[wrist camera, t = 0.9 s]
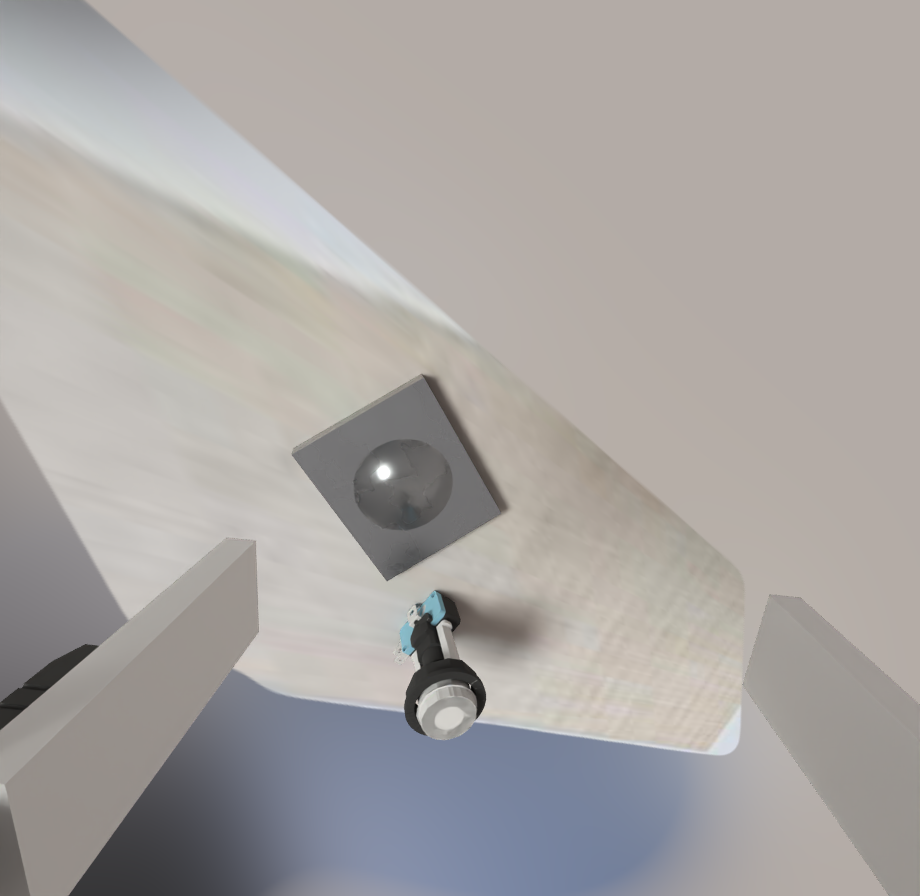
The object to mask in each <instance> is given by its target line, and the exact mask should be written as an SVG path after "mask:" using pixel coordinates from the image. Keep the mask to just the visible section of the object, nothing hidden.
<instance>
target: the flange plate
mask: <svg viewBox="0 0 920 896" xmlns="http://www.w3.org/2000/svg"><path fill="white" fill-rule="evenodd" d="M292 456H293V457H294V458H295V460H296V461H297V462H298V464H299V465H300V466H301V468H302V469H303V470H304V472H305V473H306V474H307V476H308V477H309V478H310V480H311V481H312V482H313V484H314V485H315V486H316V488H317V489H318V490H319V492H320V493H321V494H322V496H323V497H324V498H325V500H326V501H327V502H328V504H329V505H330V506H331V508H332V509H333V510H334V512H335V513H336V514H337V516H338V517H339V518H340V520H341V521H342V522H343V524H344V525H345V526H346V528H347V529H348V530H349V532H350V533H351V534H352V536H353V537H354V538H355V539H356V541H357V542H358V543H359V545H360V546H361V547H362V549H363V550H364V551H365V553H366V554H367V555H368V557H369V558H370V559H371V561H372V562H373V563H374V565H375V566H376V567H377V569H378V570H379V571H380V573H381V574H382V575H383V577H384V578H385V579H386V581H388V580H390V579H391V578H393V577H395V576H397V575H398V574H400V573H402V572H403V571H405V570H407V569H408V568H410V567H412V566H413V565H415V564H417V563H418V562H420V561H422V560H423V559H425V558H427V557H428V556H430V555H432V554H434V553H435V552H437V551H439V550H440V549H442V548H444V547H445V546H447V545H449V544H450V543H452V542H454V541H455V540H457V539H459V538H460V537H462V536H464V535H466V534H467V533H469V532H471V531H472V530H474V529H476V528H477V527H479V526H481V525H482V524H484V523H486V522H487V521H489V520H491V519H492V518H494V517H496V516H497V515H499V514H501V512H500V510H499V508H498V507H497V505H496V503H495V501H494V500H493V498H492V496H491V494H490V493H489V491H488V489H487V487H486V486H485V484H484V482H483V480H482V479H481V477H480V475H479V473H478V472H477V470H476V468H475V466H474V465H473V463H472V461H471V459H470V457H469V456H468V454H467V452H466V450H465V449H464V447H463V445H462V443H461V442H460V440H459V438H458V436H457V435H456V433H455V431H454V429H453V428H452V426H451V424H450V422H449V421H448V419H447V417H446V415H445V414H444V412H443V410H442V408H441V407H440V405H439V403H438V401H437V400H436V398H435V396H434V394H433V393H432V391H431V389H430V387H429V385H428V384H427V382H426V380H425V378H424V377H423V376H422V374H421V375H419V376H417V377H416V378H414V379H412V380H410V381H409V382H407V383H405V384H403V385H402V386H400V387H398V388H397V389H395V390H393V391H391V392H390V393H388V394H386V395H385V396H383V397H381V398H379V399H378V400H376V401H374V402H373V403H371V404H369V405H367V406H366V407H364V408H362V409H361V410H359V411H357V412H355V413H354V414H352V415H350V416H349V417H347V418H345V419H343V420H342V421H340V422H338V423H337V424H335V425H333V426H331V427H330V428H328V429H326V430H325V431H323V432H321V433H319V434H318V435H316V436H314V437H312V438H311V439H309V440H307V441H306V442H304V443H302V444H300V445H299V446H297V447H295V448H294V449H293V452H292Z"/></svg>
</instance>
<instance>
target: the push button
mask: <svg viewBox="0 0 920 896" xmlns="http://www.w3.org/2000/svg"><path fill="white" fill-rule="evenodd" d="M413 610H414V612H413V614H412V615H411V612H412V611H413ZM407 618H408V622H407V623H406V624H405V625H404V626H403V627H402V629H401V630H400V638H401V641H400V642H399V643H400V645H399V646H398V647H397V648H396V649H395V650H394V651H393V654H395V655H397V657H396V658H395V660H394V662H396V663H398V664H400V665H402V664H403V663H404V662H405V660H406V659H407V658H408V657H409V656H411V659H412V662H414V667H415V673H414V675H413V677H412V679H411V682H410V684H409V686H408V688H407V690H406V700H405V704H404V710H405V717H406V720H407V722H408V724H409V725H410V727H411V728H412V729H414V730H415V731H416V732H418V733H420V734H423V735H426V736H430V737H431V738H434V739H437V740H440V739H441V740H449V739H451V738H454V737H458V736H460V735H462V734H463V733H464V732H466V731H467V730H468V729H469V728H470V727H471V726H472V724H473V723H474V721H475V720H476V719H477V718H478V717H479V715H480V714H481V712H482V710H483V708H484V706H485V702H486V692H485V688H484V686H483V683H482V681H481V680H480V678H479V677H478V676H477V675H476V673H475V672H474V671H473V670H472V669H471V668H470V667H469V666H468V665H467V664H466V663H465V662H463V661H462V660H460V659H459V655H458V652H457V649H456V645H455V642H454V638H453V635H452V632H453V631H454V630H455V629H456V627H457V626H458V625H459V624H460V617H459V614H458V611H457V608H456V605H455V602H453V601H451V600H450V599H448V598H446V597H444V596H443V595H441V594H439V593H438V592H436V591H433V592H432V593H431V595H430V596H429V597H428V599H427V600H426V601H425V602H424V603H423V604H422V605H421V607H420V608H419V609H418V610H417V607H416V605H414V606H413V607H412V608H411V609H410V610H409V611H408V613H407ZM399 649H401V650H400V651H401V652H398V650H399ZM400 657H403V658H404V659H403V660H399V658H400ZM468 683H469V684H470V685H471V689H470V687H469V684H468ZM417 699H418V704H419V705H417V704H416V700H417Z"/></svg>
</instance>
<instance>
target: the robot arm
mask: <svg viewBox="0 0 920 896" xmlns="http://www.w3.org/2000/svg"><path fill="white" fill-rule="evenodd" d="M258 632H259V621H258V592H257V563H256V541H254V540H244V539H235V538H226V539H225V540H223V541H222V542H221V543H220V544H219V545H217V546H216V547H215V548H214V549H213V550H212V551H210V552H209V553H208V554H207V555H206V556H205V557H203V558H202V559H201V560H200V561H199V562H198V563H196V564H195V565H194V566H193V567H192V568H190V569H189V570H188V571H187V572H186V573H185V574H183V575H182V576H181V577H180V578H179V579H178V580H176V581H175V582H174V583H173V584H172V585H171V586H169V587H168V588H167V589H166V590H165V591H163V592H162V593H161V594H160V595H159V596H158V597H156V598H155V599H154V600H153V601H152V602H151V603H149V604H148V605H147V606H146V607H145V608H143V609H142V610H141V611H140V612H139V613H138V614H136V615H135V616H134V617H133V618H132V619H131V620H129V621H128V622H127V623H126V624H125V625H124V626H122V627H121V628H120V629H119V630H118V631H116V632H115V633H114V634H113V635H112V636H111V637H110V638H108V639H107V640H106V641H105V642H104V643H102V644H101V645H100V646H95V645H87V644H85V645H83V646H81V647H79V648H77V649H75V650H73V651H71V652H69V653H68V654H66V655H64V656H62V657H60V658H58V659H56V660H54V661H52V662H51V663H49V664H48V665H47V666H46V667H44V668H43V669H42V670H41V671H39V672H38V673H37V674H35V675H34V676H33V677H32V678H30V679H29V680H28V681H27V682H25V683H24V686H23V687H22V688H18V689H17V690H15V691H14V692H13V693H12V694H10V695H9V696H8V697H7V698H5V699H4V700H3V701H2V702H0V896H68V895H69V893H70V892H71V891H72V889H73V888H74V887H75V885H76V884H77V883H78V881H79V880H80V878H81V877H82V876H83V874H84V873H85V872H86V870H87V869H88V867H89V866H90V864H91V863H92V862H93V860H94V859H95V858H96V856H97V855H98V853H99V852H100V851H101V849H102V848H103V847H104V845H105V844H106V842H107V841H108V840H109V838H110V837H111V836H112V834H113V833H114V831H115V830H116V829H117V827H118V826H119V824H120V823H121V822H122V820H123V819H124V817H125V816H126V815H127V813H128V812H129V811H130V809H131V808H132V806H133V805H134V804H135V802H136V801H137V800H138V798H139V797H140V795H141V794H142V793H143V791H144V790H145V788H146V787H147V786H148V784H149V783H150V782H151V780H152V779H153V777H154V776H155V775H156V773H157V772H158V770H159V769H160V768H161V766H162V765H163V763H164V762H165V761H166V759H167V758H168V757H169V755H170V754H171V752H172V751H173V750H174V748H175V747H176V746H177V744H178V743H179V741H180V740H181V739H182V737H183V736H184V734H185V733H186V732H187V730H188V729H189V728H190V726H191V725H192V723H193V722H194V721H195V719H196V718H197V717H198V715H199V713H200V712H201V711H202V710H203V708H204V707H205V705H206V704H207V703H208V701H209V700H210V699H211V697H212V696H213V694H214V693H215V692H216V690H217V689H218V687H219V686H220V685H221V683H222V682H223V680H224V679H225V678H226V676H227V675H228V674H229V672H230V671H231V669H232V668H233V667H234V665H235V664H236V663H237V661H238V660H239V658H240V657H241V656H242V654H243V653H244V651H245V650H246V649H247V647H248V646H249V645H250V643H251V642H252V640H253V639H254V638H255V636H256V635H257V633H258ZM742 685H743V686H744V688H745V689H746V691H747V692H748V694H749V695H750V697H751V698H752V699H753V701H754V702H755V704H756V705H757V707H758V708H759V709H760V711H761V712H762V714H763V715H764V717H765V718H766V720H767V721H768V722H769V724H770V725H771V727H772V728H773V730H774V731H775V733H776V734H777V735H778V737H779V738H780V740H781V741H782V742H783V744H784V745H785V747H786V748H787V750H788V751H789V753H790V754H791V755H792V757H793V758H794V760H795V761H796V763H797V764H798V766H799V767H800V769H801V770H802V771H803V773H804V774H805V776H806V777H807V779H808V780H809V781H810V783H811V784H812V786H813V787H814V788H815V790H816V792H817V793H818V794H819V796H820V797H821V799H822V800H823V802H824V803H825V804H826V806H827V807H828V809H829V810H830V812H831V813H832V815H833V816H834V817H835V819H836V820H837V822H838V823H839V825H840V826H841V828H842V829H843V830H844V832H845V833H846V835H847V836H848V838H849V839H850V840H851V842H852V843H853V845H854V846H855V848H856V849H857V851H858V852H859V853H860V855H861V856H862V858H863V859H864V861H865V862H866V863H867V865H868V866H869V868H870V869H871V870H872V872H873V873H874V875H875V876H876V878H877V879H878V881H879V882H880V884H881V885H882V887H883V888H884V889H885V891H886V892H887V894H888V895H889V896H920V704H919V703H918V702H917V701H915V700H914V699H913V698H912V697H911V696H910V695H909V694H908V693H906V692H905V691H904V690H903V689H902V688H901V687H900V686H899V685H898V684H896V683H895V682H894V681H893V680H892V679H891V678H890V677H889V676H888V675H886V674H885V673H884V672H883V671H882V670H881V669H880V668H878V667H877V666H876V665H875V664H874V663H873V662H872V661H871V660H870V659H869V658H867V657H866V656H865V655H864V654H863V653H862V652H861V651H859V650H858V649H857V648H856V647H855V646H854V645H853V644H852V643H851V642H849V641H848V640H847V639H846V638H845V637H844V636H843V635H842V634H840V633H839V632H838V631H837V630H836V629H835V628H834V627H833V626H832V625H830V624H829V623H828V622H827V621H826V620H825V619H824V618H823V617H822V616H820V615H819V614H818V613H817V612H816V611H815V610H814V609H813V608H812V607H810V606H809V605H808V604H807V603H806V602H805V601H803V600H802V599H801V598H799V597H789V596H780V595H769V598H768V601H767V605H766V608H765V611H764V615H763V618H762V622H761V625H760V628H759V632H758V635H757V638H756V641H755V645H754V648H753V651H752V655H751V658H750V661H749V665H748V668H747V671H746V675H745V678H744V681H743V684H742Z"/></svg>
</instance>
